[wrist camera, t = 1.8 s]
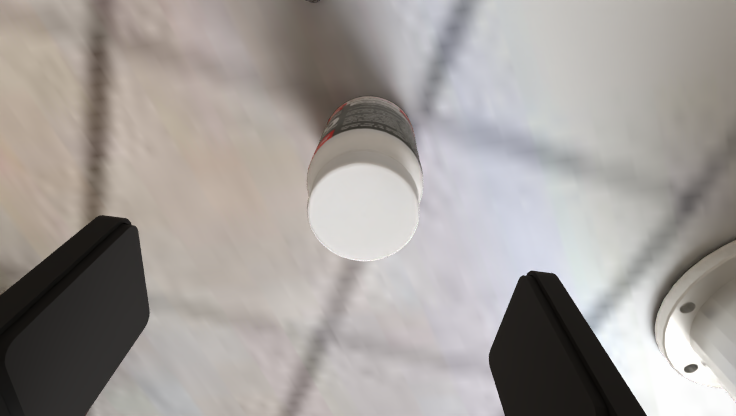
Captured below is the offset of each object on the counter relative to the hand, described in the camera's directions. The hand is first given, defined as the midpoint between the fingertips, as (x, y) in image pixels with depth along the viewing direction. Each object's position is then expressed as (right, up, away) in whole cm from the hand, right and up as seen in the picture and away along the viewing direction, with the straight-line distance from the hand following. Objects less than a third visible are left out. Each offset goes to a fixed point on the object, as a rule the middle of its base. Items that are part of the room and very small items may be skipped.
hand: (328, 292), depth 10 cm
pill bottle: (+1, +6, +12) cm, 13 cm away
